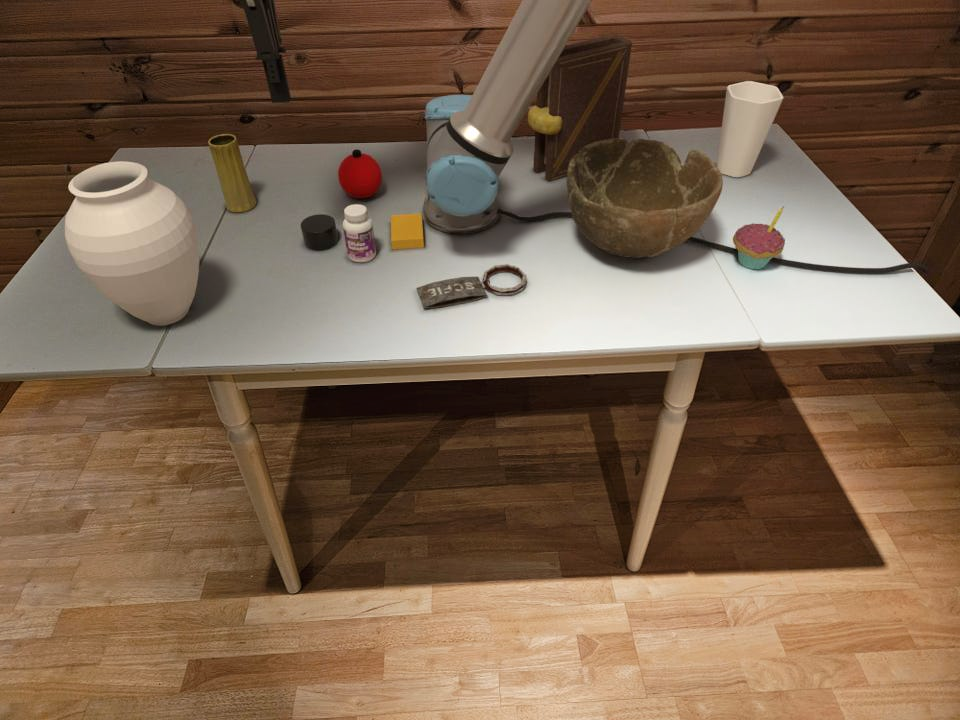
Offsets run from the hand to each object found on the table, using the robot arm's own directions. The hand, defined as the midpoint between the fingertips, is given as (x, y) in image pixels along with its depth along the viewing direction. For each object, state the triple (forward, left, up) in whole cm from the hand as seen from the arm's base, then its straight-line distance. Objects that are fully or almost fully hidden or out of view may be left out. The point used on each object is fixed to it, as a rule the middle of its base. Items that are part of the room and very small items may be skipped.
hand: (281, 100), depth 101 cm
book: (-54, -29, -30) cm, 68 cm away
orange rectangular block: (-17, -5, -29) cm, 34 cm away
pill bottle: (-8, 0, -30) cm, 31 cm away
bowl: (-59, +2, -30) cm, 66 cm away
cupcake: (-79, +11, -30) cm, 85 cm away
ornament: (-8, -22, -30) cm, 38 cm away
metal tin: (0, -5, -29) cm, 30 cm away
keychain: (-28, +13, -30) cm, 43 cm away
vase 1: (+24, +13, -30) cm, 40 cm away
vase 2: (+17, -21, -30) cm, 40 cm away
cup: (-89, -23, -30) cm, 97 cm away
